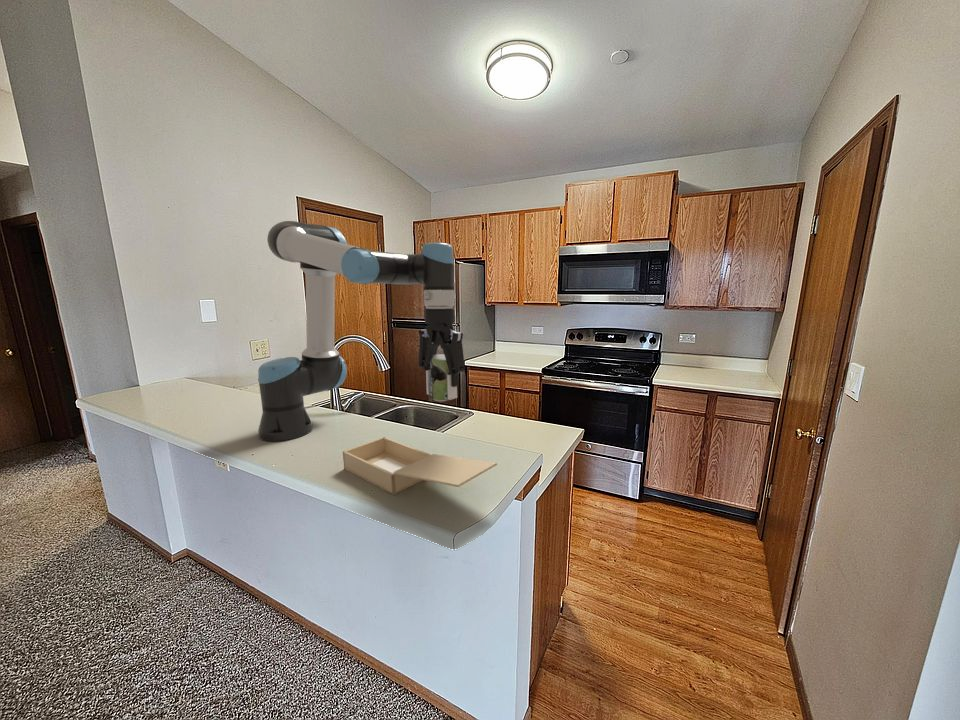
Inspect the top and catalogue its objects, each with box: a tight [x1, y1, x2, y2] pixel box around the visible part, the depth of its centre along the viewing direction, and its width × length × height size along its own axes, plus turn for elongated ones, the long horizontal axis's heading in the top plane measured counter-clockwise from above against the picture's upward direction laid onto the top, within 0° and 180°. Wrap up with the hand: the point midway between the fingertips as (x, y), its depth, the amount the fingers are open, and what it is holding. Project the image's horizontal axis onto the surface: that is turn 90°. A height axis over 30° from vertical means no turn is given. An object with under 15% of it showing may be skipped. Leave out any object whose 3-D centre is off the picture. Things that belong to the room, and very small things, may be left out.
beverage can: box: [428, 353, 454, 402], centre depth 98 cm, size 6×7×12 cm
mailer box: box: [342, 436, 432, 496], centre depth 92 cm, size 20×12×5 cm, turn 50°
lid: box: [394, 453, 498, 488], centre depth 79 cm, size 19×12×1 cm, turn 50°
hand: (441, 395), depth 99 cm, fingers closed on beverage can, 7 cm apart
